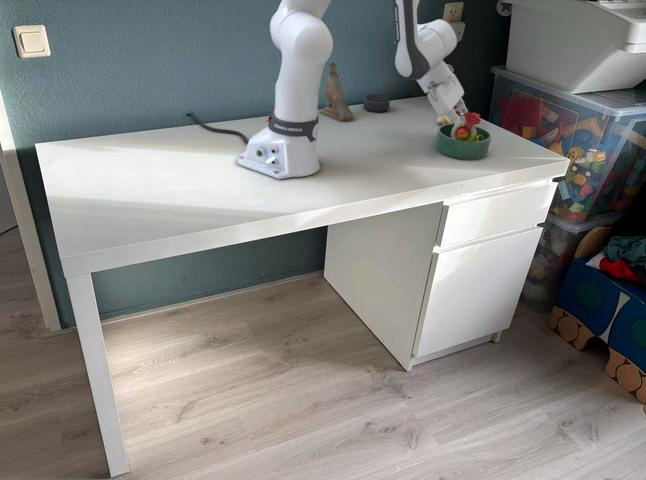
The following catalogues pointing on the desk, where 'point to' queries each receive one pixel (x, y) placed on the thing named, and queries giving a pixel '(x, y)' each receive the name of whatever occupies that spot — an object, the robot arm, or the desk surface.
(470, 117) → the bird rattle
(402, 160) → the desk surface
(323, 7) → the robot arm
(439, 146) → the bowl
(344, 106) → the worn brown figurine
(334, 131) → the desk surface
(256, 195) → the desk surface
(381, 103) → the smart speaker
